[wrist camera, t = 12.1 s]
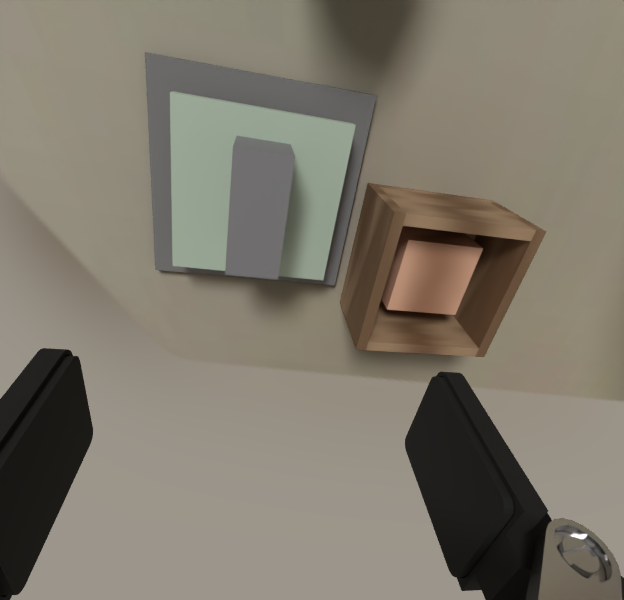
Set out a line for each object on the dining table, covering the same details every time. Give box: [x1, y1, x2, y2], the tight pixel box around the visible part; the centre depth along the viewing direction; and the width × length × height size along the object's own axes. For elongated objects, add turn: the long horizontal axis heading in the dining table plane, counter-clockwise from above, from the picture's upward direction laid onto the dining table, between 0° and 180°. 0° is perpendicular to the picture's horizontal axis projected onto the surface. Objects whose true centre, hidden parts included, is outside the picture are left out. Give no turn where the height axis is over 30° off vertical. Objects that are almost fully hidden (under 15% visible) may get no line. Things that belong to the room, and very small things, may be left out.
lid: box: [170, 91, 356, 280], centre depth 26 cm, size 12×12×6 cm
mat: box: [145, 53, 376, 286], centre depth 29 cm, size 15×15×1 cm
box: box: [340, 183, 546, 357], centre depth 31 cm, size 11×11×7 cm
